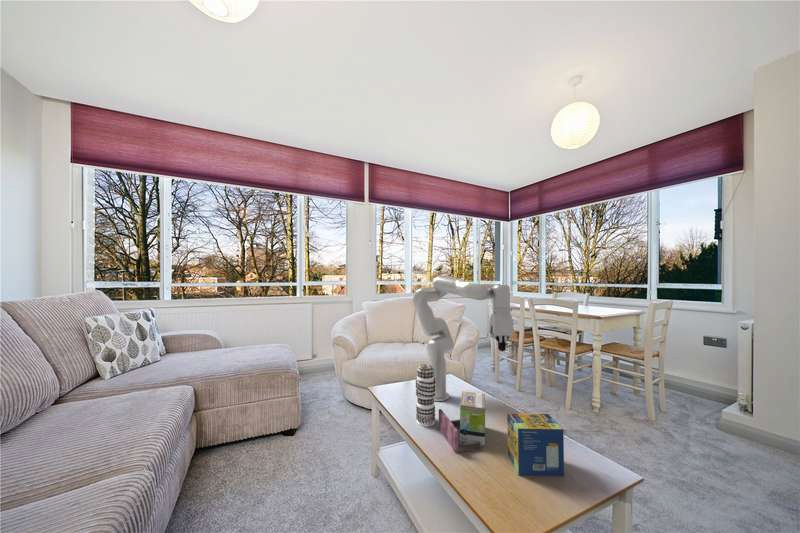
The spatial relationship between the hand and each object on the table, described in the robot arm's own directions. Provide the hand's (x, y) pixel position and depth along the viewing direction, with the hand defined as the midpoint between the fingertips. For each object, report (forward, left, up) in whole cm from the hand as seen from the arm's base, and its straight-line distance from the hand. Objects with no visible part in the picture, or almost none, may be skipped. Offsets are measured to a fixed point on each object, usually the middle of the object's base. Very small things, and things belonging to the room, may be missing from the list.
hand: (501, 350), depth 135 cm
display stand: (+11, -27, -31) cm, 43 cm away
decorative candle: (-4, -36, -31) cm, 48 cm away
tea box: (+10, -20, -31) cm, 38 cm away
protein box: (+33, -8, -31) cm, 46 cm away
